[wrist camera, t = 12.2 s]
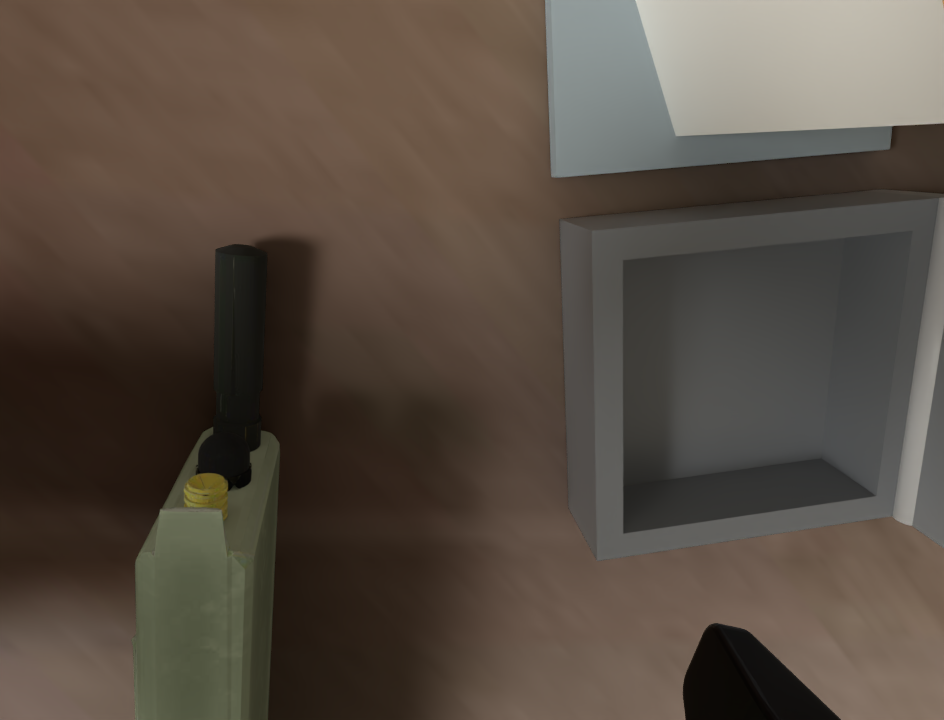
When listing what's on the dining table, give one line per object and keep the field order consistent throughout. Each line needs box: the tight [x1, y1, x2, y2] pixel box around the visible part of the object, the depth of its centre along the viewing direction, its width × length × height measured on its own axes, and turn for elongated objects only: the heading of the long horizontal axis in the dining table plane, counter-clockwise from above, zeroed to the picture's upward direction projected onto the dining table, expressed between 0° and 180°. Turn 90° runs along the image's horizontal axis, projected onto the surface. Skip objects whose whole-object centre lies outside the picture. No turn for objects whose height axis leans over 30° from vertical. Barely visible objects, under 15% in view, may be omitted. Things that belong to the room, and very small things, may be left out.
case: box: [559, 189, 944, 561], centre depth 15 cm, size 10×10×13 cm
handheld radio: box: [131, 244, 280, 720], centre depth 19 cm, size 7×3×25 cm
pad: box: [545, 0, 892, 178], centre depth 18 cm, size 10×8×1 cm
